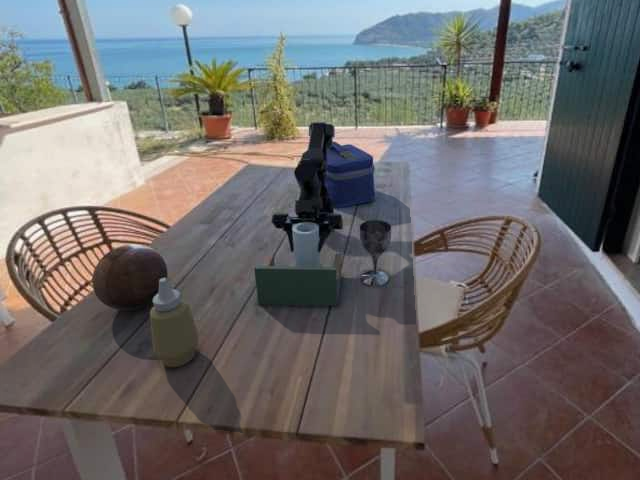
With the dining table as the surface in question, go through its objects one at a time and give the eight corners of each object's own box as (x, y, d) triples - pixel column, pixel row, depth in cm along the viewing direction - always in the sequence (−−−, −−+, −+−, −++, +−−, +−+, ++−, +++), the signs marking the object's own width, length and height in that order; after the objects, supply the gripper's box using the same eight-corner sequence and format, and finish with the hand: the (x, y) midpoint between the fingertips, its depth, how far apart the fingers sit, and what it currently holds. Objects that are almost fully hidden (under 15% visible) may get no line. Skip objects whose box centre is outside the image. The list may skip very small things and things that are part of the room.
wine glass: (368, 289, 98) (369, 236, 92) (354, 274, 104) (354, 224, 99) (395, 281, 101) (397, 229, 96) (380, 266, 108) (381, 217, 102)
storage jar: (307, 260, 111) (305, 219, 106) (325, 269, 107) (324, 226, 102) (289, 271, 106) (286, 228, 101) (307, 280, 102) (305, 236, 97)
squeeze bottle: (166, 343, 80) (149, 268, 74) (206, 340, 81) (192, 266, 75) (150, 374, 73) (129, 294, 66) (194, 371, 74) (177, 291, 67)
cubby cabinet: (270, 274, 104) (267, 241, 101) (342, 275, 104) (341, 242, 100) (257, 304, 92) (253, 268, 89) (337, 306, 92) (336, 269, 88)
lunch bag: (305, 185, 170) (303, 139, 162) (349, 178, 178) (349, 134, 171) (331, 210, 144) (330, 157, 136) (381, 201, 152) (382, 150, 145)
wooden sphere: (185, 289, 98) (175, 236, 93) (143, 328, 85) (127, 269, 79) (134, 282, 101) (121, 230, 96) (85, 319, 87) (66, 262, 82)
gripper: (270, 185, 102) (262, 242, 95) (341, 185, 101) (338, 243, 95) (279, 201, 112) (273, 254, 106) (343, 201, 111) (341, 255, 105)
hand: (305, 251), depth 102 cm, fingers closed on storage jar, 7 cm apart
